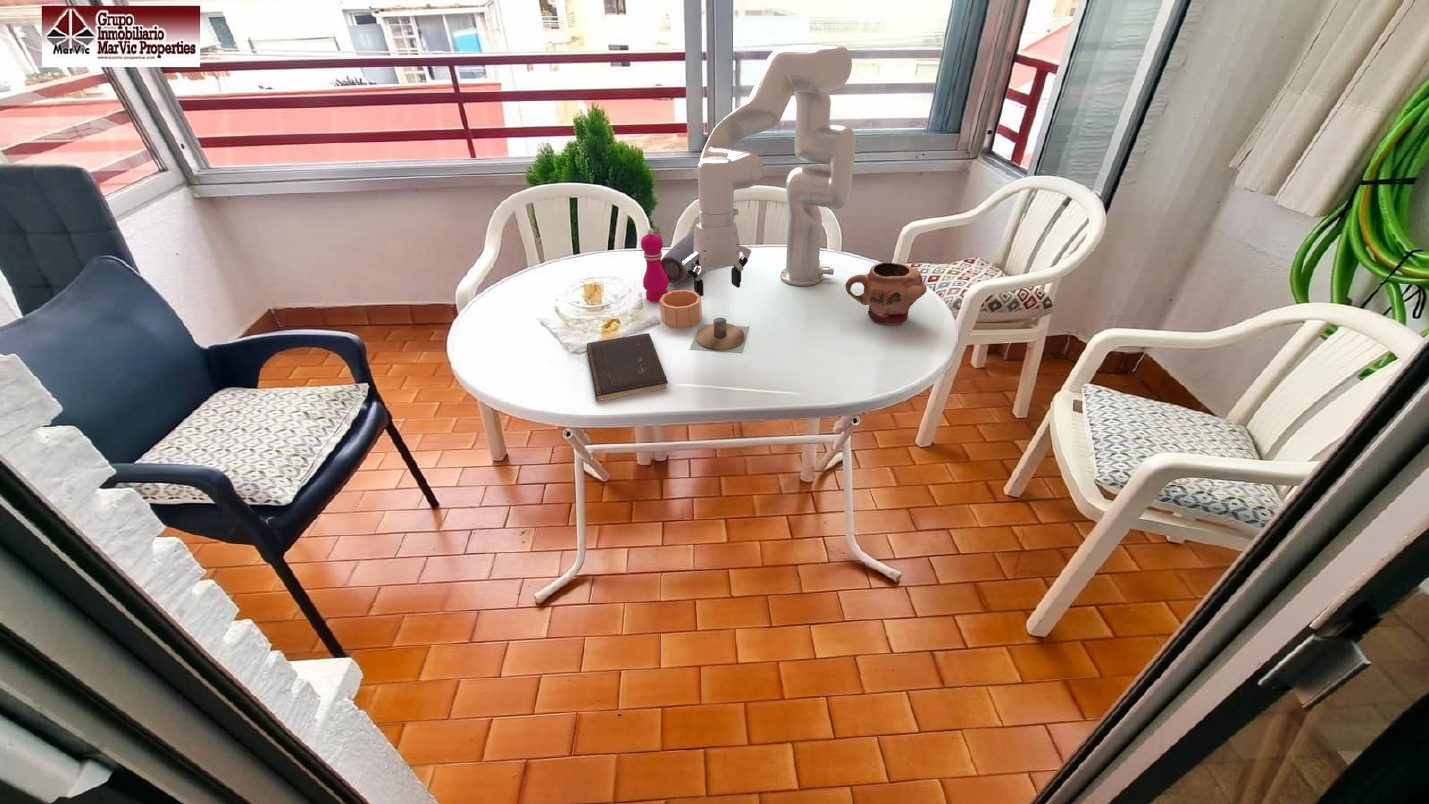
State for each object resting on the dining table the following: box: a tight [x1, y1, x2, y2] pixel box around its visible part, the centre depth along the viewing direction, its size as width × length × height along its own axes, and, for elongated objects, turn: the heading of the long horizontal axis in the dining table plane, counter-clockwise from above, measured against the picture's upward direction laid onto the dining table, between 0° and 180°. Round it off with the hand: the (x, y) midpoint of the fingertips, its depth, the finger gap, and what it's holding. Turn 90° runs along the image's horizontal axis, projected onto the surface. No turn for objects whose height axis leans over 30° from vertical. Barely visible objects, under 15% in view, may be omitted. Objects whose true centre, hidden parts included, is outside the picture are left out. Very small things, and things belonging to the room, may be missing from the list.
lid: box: [695, 317, 744, 350], centre depth 143 cm, size 12×12×5 cm
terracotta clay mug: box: [844, 262, 928, 326], centre depth 147 cm, size 20×12×14 cm, turn 89°
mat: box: [689, 323, 750, 354], centre depth 145 cm, size 13×13×1 cm
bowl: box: [659, 289, 703, 329], centre depth 152 cm, size 10×11×6 cm
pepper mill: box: [640, 228, 670, 303], centre depth 159 cm, size 7×7×20 cm
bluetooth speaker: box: [661, 230, 696, 284], centre depth 175 cm, size 23×9×10 cm, turn 159°
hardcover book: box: [585, 332, 669, 402], centre depth 135 cm, size 16×23×2 cm
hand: (717, 289), depth 136 cm, fingers open, 9 cm apart
